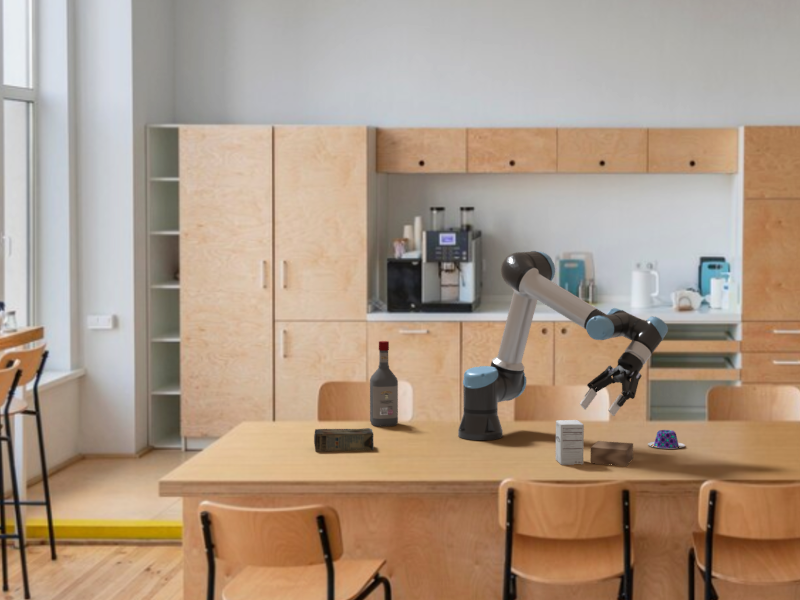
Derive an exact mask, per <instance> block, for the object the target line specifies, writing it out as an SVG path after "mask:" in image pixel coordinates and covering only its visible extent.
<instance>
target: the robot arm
mask: <svg viewBox="0 0 800 600" xmlns="http://www.w3.org/2000/svg"><path fill="white" fill-rule="evenodd" d="M500 273H501V277H502V280H503V281H504V283H506V285H508V286H509V287H510V288H511V289H512V291H513V293H512V297H511V301H510V306H509V310H508V313H507V317H506V322H505V325H504V329H503V333H502V337H501V342H500V344H499V349H498V352H497V356H496V357H493V358H492V359H491V363H490V365H489V366H488V365H480V366H474V367H471V368H468V369H466V370H465V371H464V373H463V380H462V384H463V387H462V389H463V411H462V412H463V414H462V417H461V421H460V423H459V425H458V431H457V433H458V437H459V438H461V439H464V440H470V441H471V440H472V441H473V440H474V441H491V440H499V439H501V438H503V433H504V432H503V427H502V424H501V421H500V419H499V415H498V414H499V413H498V403H502V402H506V401H507V402H508V401H511V400H514V399H516V398H518V397H520V396H521V395H522V394H523V393H524V391H525V389H526V386H527V377H526V373H525V366H524V364H523V362H522V361H523V358H524V354H525V350H526V347H527V341H528V339H529V335H530V330H531V326H532V323H533V319H534V316H535V311H536V307H537V303H538V302H540V303H541V304H543V305H545V306H547V307H549V308H550V309H551V310H554V312H557V313H558V314H559V315H561V316H563V317H565V318H566V319H568V320H570V321H572V322H573V323H575V324H576V325H578V326H579V327H581V328H582V329H585V330H586V332H587V335H588V337H590V338H591V339H593V340H595V341H604V340H605V341H606V340H608V339H614V338H618V337H619V338H621V337H623V338H626V339H627V340H631V341H630V343H629V344H628V346H627V347H626V348H625V350H624V352H623V353H622V354H621V355H620V357H619V358H618V360H617V365H616V366H615V368H614V367H613V366H612V365H608V366H607V367H606V368H605V369H604V371H602V372H601V373H600V374H598V375H597V376H596V377H594V378H593V379H592V380H590V381H589V382H588V383H587V385H586V387H588V388H589V389H588V391H587V392H586V394H585V395H584V396H583V398H582V400H581V401H580V403H579V406H581V408H582V409H583V410H585V411H586V410H587V408H589V406H590V404H591V403H592V402H593V400H594V399H595V398H596V396H597V395H598V393H597V392H599V391H601V390H603V389H605V388H606V387H608V386H609V385H612V384H616V383H620V384H621V393H619V394H618V395H617V397H616V398H615V399H614V401H613V402H612V404H611V405H610V407H609V408H608V410H607V411H608V412H609V413H610V414H611V416H612V417H615V416H616V414H617V413H618V411H619V410H620V409H621V407H623V406H624V405H625V404H626V402H627V400H630V399H631V400H633V399H635V397H636V393H637V389H638V385H639V382H640V379H641V378H642V374H641V373H640V372H641V370H642V369H643V367H644V365H645V364H647V361H648V360H649V359H650V357H651V356H652V355H653V353H654V352H655V350H656V349H657V348H658V346H659V345H660V344H661V342H663V340H664V338H665V336H666V335H667V333H668V332H669V328H668V325H667V323H666V322H665V321H664V320H663V319H661V318H660V317H657V316H652V315H651V316H649V317H648V318H647V319H646V320H645V319H642V318H639V317H637V316H636V315H633V314H630V313H628V312H626V311H625V310H623V309H619V308H616V307H614V308H613V307H612V308H611V309H610V310H609V311H607V313H605V312H603V311H601V310H600V309H598V308H596V306H593V305H592V304H590V303H588V302H586V301H585V300H584V299H582V298H580V297H578V296H576V295H575V294H573V293H572V292H571V291H569V290H567V289H565V288H564V287H562V286H560V285H558V284H557V283H555V282H554V281H553V280H554V278H555V275H556V274H555V273H556V265H555V263H554V261H553V259H552V258H551V256H550V255H549V254H547V253H546V252H544V251H543V252H542V251H536V250H532V251H522V252H518V251H517V252H514V253H511V254H509V255H507V256H506V257H505V258H504V260H503V261H502V263H501V268H500Z"/></svg>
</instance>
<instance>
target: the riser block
mask: <svg viewBox="0 0 800 600" xmlns="http://www.w3.org/2000/svg"><path fill="white" fill-rule="evenodd" d="M632 459H633V460H634V443H632V442H622V441H621V442H620V441H607V440H606V441H605V440H603V441H602V440H597V441H596V443H594V444H593V445H591V447H590V463H595V464H594V465H603V464H610V465H609V466H616V465H623V466H622V467H628V465H629V464H630V463H631V462H632V461H633V460H632ZM631 460H632V461H631ZM630 461H631V462H630ZM629 462H630V463H629ZM628 463H629V464H628ZM611 464H612V465H611ZM627 464H628V465H627Z"/></svg>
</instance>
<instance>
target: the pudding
mask: <svg viewBox="0 0 800 600" xmlns="http://www.w3.org/2000/svg"><path fill="white" fill-rule="evenodd" d="M652 444H654V445H653V446H657V447H653V446H651V445H652ZM647 445H648V446H649V447H652V448H657V449H666V450H668V449H669V450H674V449H677V448H678V447H679V446H680V447H679V448H678V449H681V448H684V447H686V444H685V443H681V442H679V441H678V438H677V433H676V432H675V431H674V430H672V429H671V430H670V429H660V430H657V433H656V436H655V439H654V441H651V442H648V443H647ZM676 447H677V448H676Z"/></svg>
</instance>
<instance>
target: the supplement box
mask: <svg viewBox="0 0 800 600" xmlns="http://www.w3.org/2000/svg"><path fill="white" fill-rule="evenodd" d="M584 428H585V426H584V423H582V422H581V421H580V420H578V419H566V420H565V419H561V420H560V419H559V420H555V461H557V462H558V463H559V464H560V465H561V466H570V465H571V466H574V464H581V465H584V447H585V446H584V445H585V443H584V442H585V441H584V440H585V439H584V438H585V435H584V434H585V433H584V432H585V431H584V430H585V429H584Z"/></svg>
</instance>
